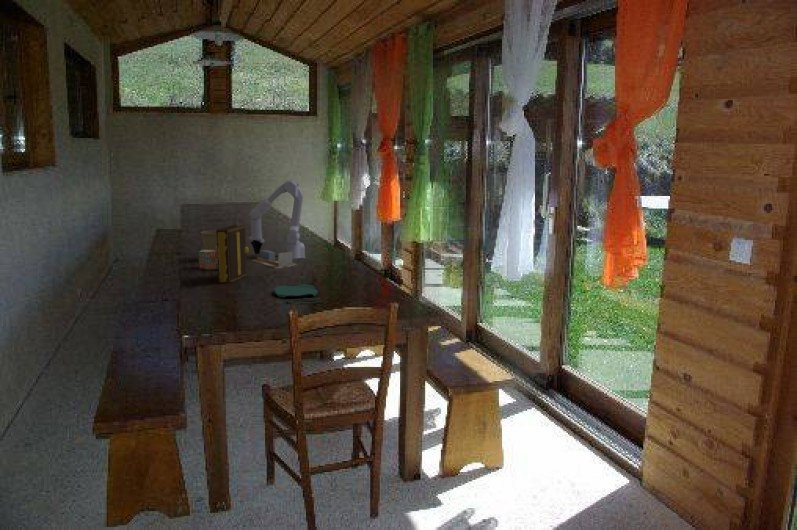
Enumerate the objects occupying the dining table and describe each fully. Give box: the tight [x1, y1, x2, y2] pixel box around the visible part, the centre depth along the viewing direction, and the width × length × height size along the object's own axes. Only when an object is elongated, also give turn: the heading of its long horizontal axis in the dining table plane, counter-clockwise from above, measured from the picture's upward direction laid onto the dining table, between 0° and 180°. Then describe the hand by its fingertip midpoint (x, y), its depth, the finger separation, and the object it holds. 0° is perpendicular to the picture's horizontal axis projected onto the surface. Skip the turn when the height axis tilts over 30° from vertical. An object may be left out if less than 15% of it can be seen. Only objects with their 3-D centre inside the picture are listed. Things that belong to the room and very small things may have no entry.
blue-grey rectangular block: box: [259, 249, 276, 261], centre depth 352 cm, size 4×10×5 cm, turn 40°
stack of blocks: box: [198, 246, 218, 270], centre depth 331 cm, size 21×6×12 cm, turn 85°
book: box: [216, 224, 250, 284], centre depth 307 cm, size 22×8×25 cm, turn 168°
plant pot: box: [200, 229, 217, 250], centre depth 353 cm, size 15×15×16 cm
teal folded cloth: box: [272, 283, 323, 306], centre depth 275 cm, size 20×30×2 cm, turn 17°
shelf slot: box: [251, 251, 299, 269], centre depth 346 cm, size 14×26×8 cm, turn 40°
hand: (257, 253), depth 361 cm, fingers closed
